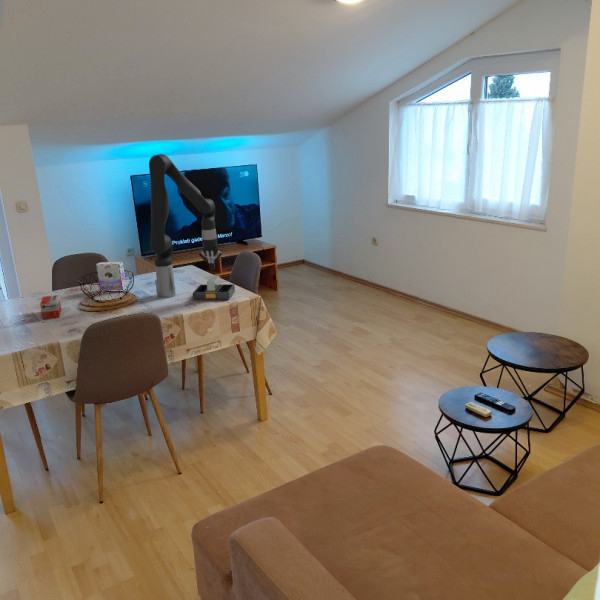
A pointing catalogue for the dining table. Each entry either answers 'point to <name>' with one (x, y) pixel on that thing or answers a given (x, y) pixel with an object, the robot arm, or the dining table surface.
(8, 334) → the dining table surface
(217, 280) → the grey-green rectangular block
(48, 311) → the medicine box
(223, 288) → the rack
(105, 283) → the candy box
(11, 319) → the dining table surface
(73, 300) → the dining table surface
